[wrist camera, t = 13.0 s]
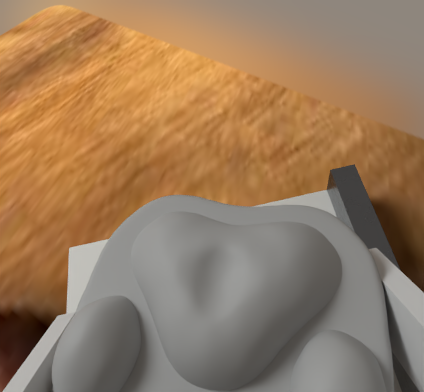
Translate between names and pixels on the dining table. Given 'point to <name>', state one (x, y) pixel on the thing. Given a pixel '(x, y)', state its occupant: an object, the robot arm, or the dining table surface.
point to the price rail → (363, 230)
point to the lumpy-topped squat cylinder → (229, 305)
